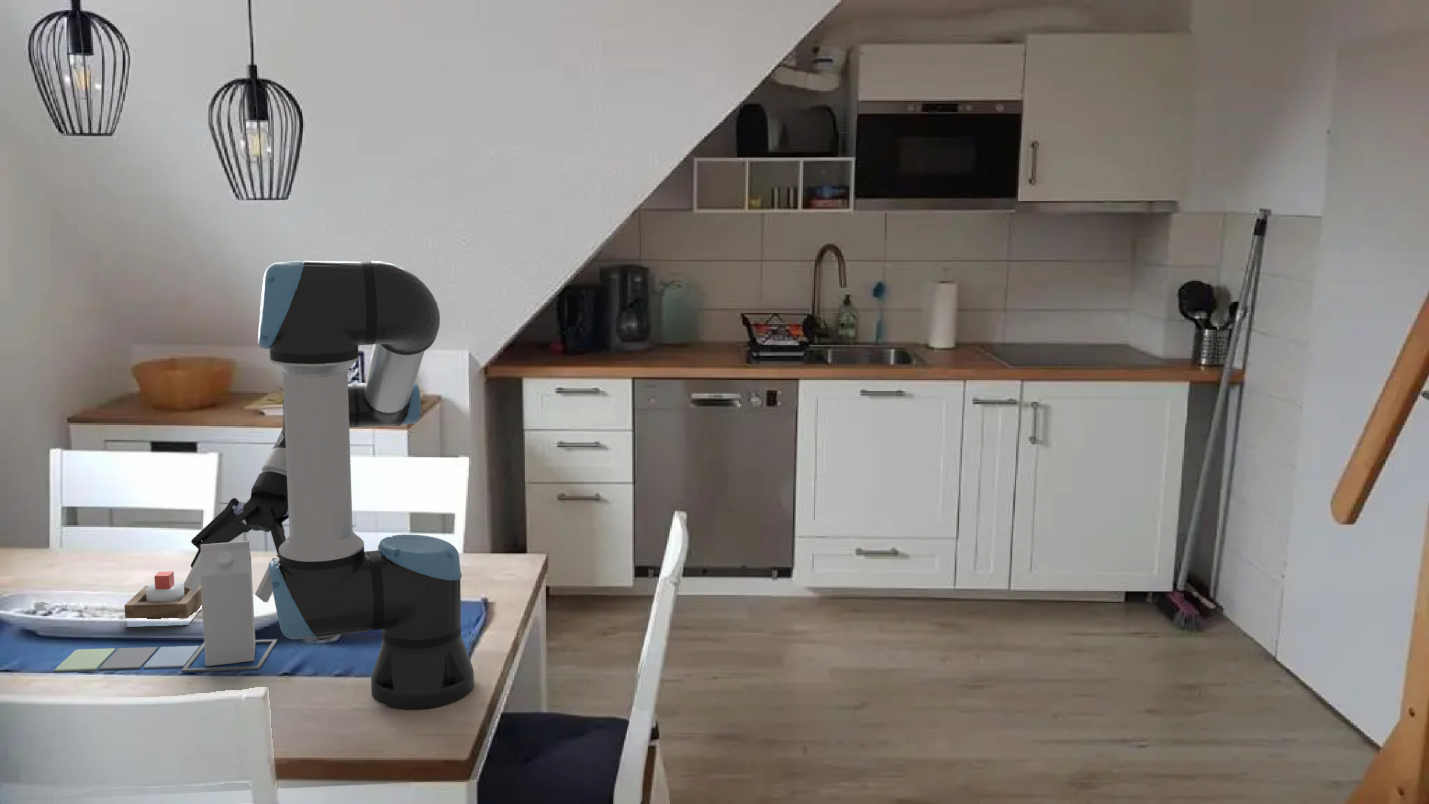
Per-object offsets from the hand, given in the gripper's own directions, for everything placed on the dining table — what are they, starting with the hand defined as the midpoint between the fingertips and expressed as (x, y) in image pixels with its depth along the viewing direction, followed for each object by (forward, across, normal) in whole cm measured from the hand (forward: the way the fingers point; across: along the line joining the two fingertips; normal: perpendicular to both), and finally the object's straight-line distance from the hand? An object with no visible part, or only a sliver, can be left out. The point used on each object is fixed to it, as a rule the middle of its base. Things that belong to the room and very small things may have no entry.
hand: (225, 593), depth 178 cm
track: (+10, +8, -5) cm, 14 cm away
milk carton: (+8, 0, -8) cm, 11 cm away
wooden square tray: (0, +22, -15) cm, 27 cm away
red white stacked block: (-1, +22, -14) cm, 26 cm away
